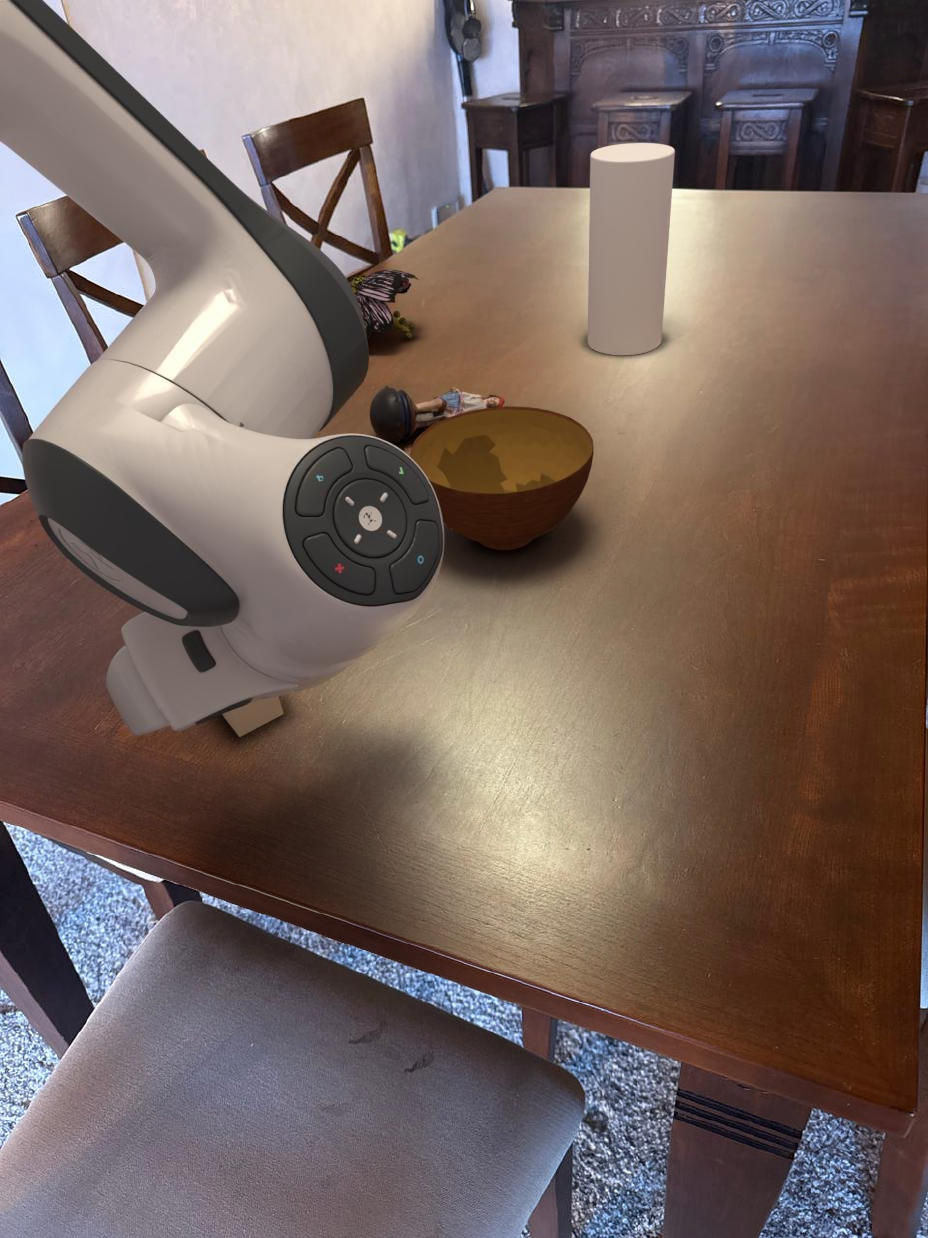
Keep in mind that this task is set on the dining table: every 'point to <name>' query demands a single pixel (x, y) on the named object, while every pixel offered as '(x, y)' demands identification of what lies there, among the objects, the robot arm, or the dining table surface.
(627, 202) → the tall pillar cylinder
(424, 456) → the bowl
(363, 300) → the decorative flower
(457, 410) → the figurine
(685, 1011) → the dining table surface
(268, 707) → the beige rectangular block
